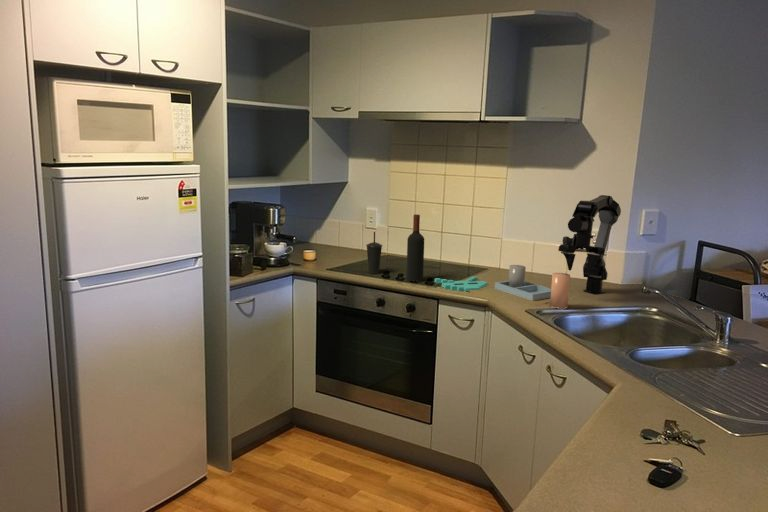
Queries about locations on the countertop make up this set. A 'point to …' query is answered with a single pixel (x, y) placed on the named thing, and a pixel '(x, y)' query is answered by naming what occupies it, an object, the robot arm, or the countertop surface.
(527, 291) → the cup rack
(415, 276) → the wine bottle
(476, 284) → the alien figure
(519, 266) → the grey cylinder
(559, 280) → the peach round cylinder
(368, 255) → the drinking cup
